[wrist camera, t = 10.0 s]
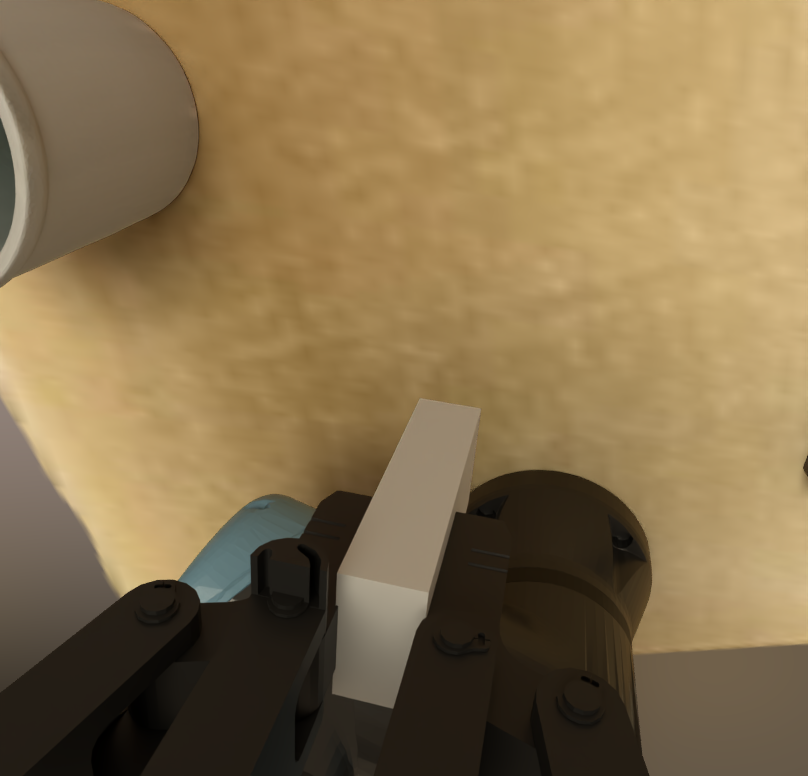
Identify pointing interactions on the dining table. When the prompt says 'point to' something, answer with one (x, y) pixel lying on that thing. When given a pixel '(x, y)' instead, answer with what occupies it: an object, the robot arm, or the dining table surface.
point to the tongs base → (806, 466)
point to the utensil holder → (85, 127)
